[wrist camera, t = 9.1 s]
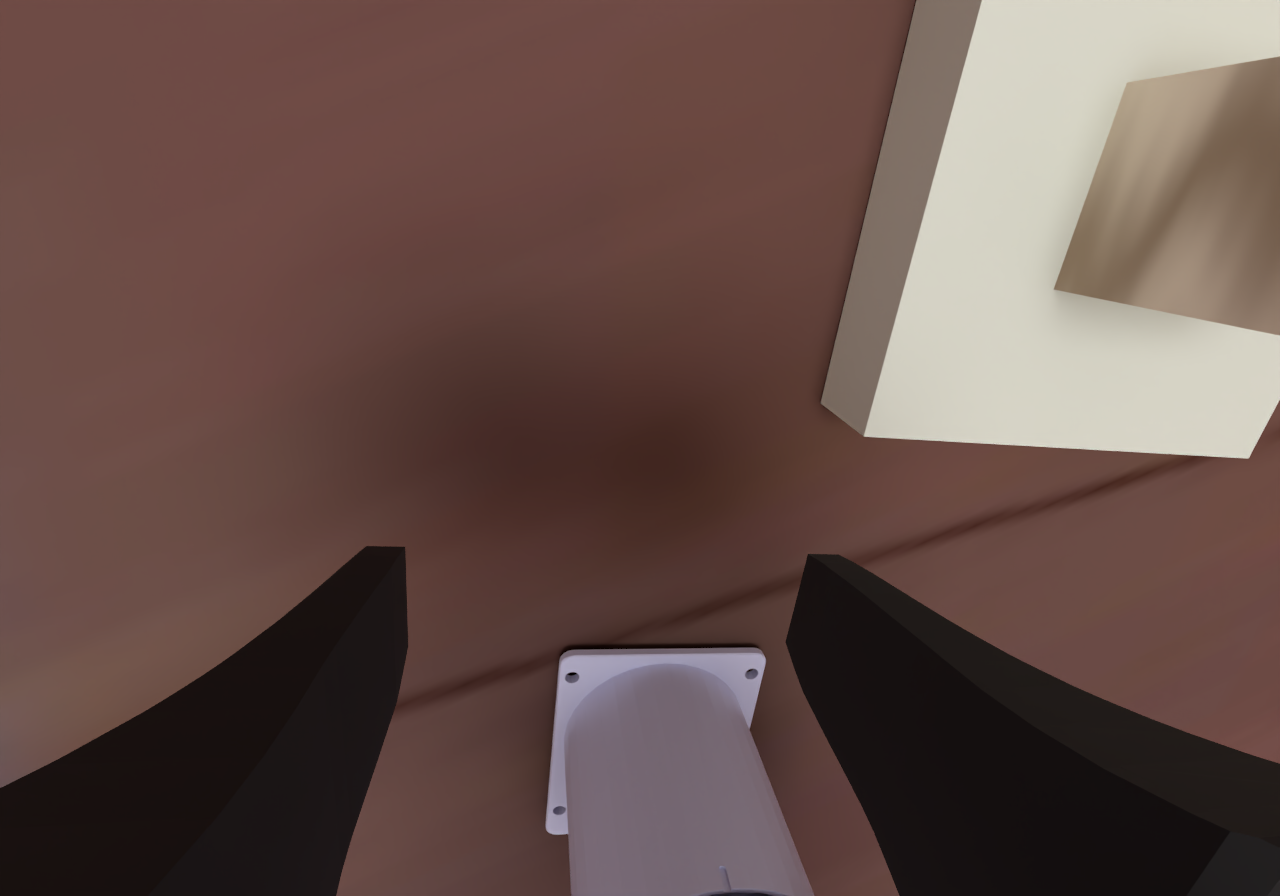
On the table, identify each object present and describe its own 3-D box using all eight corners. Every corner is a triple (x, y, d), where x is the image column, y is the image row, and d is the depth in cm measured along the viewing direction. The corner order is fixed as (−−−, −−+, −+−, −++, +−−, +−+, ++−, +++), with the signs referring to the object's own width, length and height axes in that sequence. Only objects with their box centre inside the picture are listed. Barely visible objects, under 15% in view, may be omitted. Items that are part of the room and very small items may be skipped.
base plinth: (1165, 426, 23) (1248, 458, 21) (820, 403, 21) (863, 436, 18) (1372, -21, 18) (1521, -58, 15) (946, -127, 15) (1034, -193, 13)
